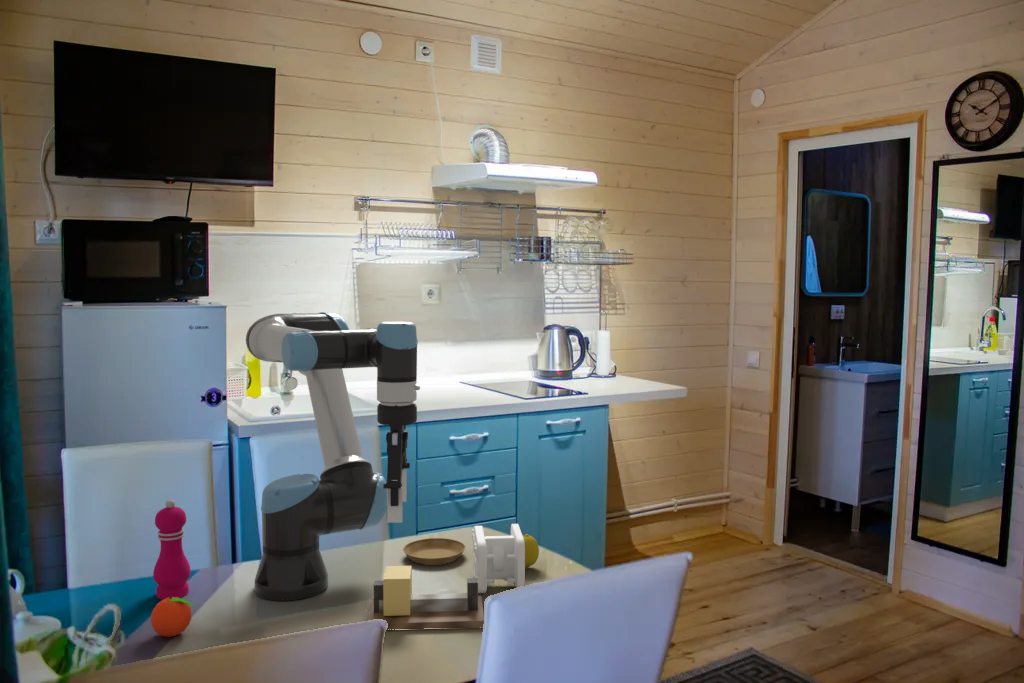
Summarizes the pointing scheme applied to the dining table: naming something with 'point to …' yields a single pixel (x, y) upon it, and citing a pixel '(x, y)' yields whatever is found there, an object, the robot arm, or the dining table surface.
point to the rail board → (432, 619)
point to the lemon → (530, 550)
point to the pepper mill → (171, 553)
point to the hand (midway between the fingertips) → (397, 511)
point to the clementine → (171, 616)
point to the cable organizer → (498, 557)
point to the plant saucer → (434, 551)
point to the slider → (397, 590)
